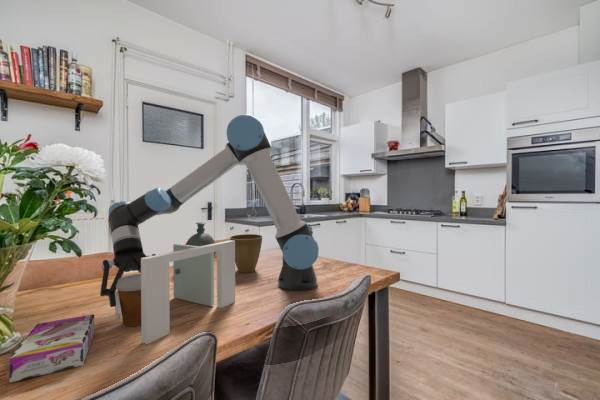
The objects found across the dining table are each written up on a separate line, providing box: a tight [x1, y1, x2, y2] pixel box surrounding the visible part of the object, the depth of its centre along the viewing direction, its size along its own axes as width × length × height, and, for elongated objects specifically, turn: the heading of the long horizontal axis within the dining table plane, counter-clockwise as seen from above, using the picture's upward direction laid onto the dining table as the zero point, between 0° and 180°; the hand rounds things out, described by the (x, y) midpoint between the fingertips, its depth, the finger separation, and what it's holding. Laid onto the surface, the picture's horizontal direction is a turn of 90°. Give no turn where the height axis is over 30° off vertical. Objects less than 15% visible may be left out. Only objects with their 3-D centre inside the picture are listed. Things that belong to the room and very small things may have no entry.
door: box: [172, 243, 215, 307], centre depth 90 cm, size 17×3×18 cm, turn 63°
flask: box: [185, 221, 217, 258], centre depth 133 cm, size 12×17×22 cm
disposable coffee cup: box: [116, 273, 141, 327], centre depth 76 cm, size 10×10×12 cm
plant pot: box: [229, 233, 263, 274], centre depth 128 cm, size 15×15×16 cm
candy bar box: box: [8, 313, 95, 383], centre depth 61 cm, size 11×5×16 cm
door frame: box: [140, 239, 236, 345], centre depth 78 cm, size 30×2×20 cm, turn 151°
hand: (139, 311), depth 74 cm, fingers closed on disposable coffee cup, 8 cm apart
